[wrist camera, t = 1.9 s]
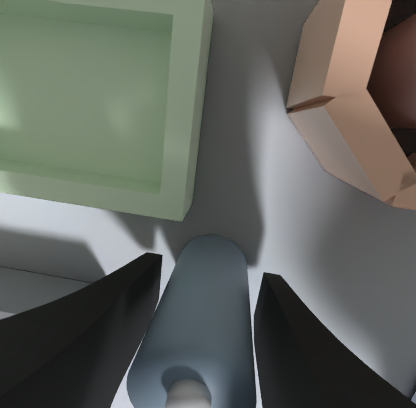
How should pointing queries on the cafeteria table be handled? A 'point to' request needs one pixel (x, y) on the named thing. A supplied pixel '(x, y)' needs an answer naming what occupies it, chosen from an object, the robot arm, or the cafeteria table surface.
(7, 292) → the grey button box
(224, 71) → the cafeteria table surface
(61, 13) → the trough
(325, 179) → the cafeteria table surface
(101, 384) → the robot arm
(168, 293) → the cell
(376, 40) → the cup
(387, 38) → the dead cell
